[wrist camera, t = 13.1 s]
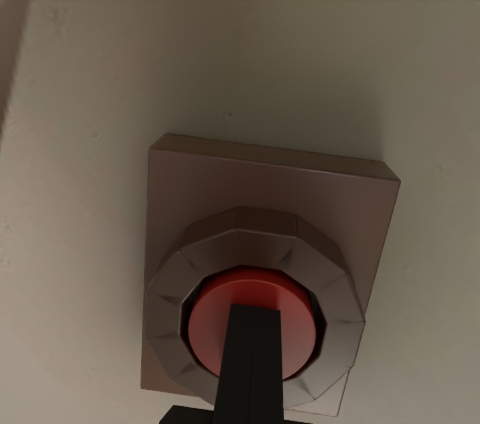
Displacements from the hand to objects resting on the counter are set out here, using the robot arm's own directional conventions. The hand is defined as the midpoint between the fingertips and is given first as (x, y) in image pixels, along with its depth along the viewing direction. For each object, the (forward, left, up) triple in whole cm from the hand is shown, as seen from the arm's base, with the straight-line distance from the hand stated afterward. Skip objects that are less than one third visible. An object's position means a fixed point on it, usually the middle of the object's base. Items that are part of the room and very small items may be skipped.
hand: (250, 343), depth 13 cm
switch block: (0, 0, -5) cm, 5 cm away
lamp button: (0, 0, -2) cm, 2 cm away
